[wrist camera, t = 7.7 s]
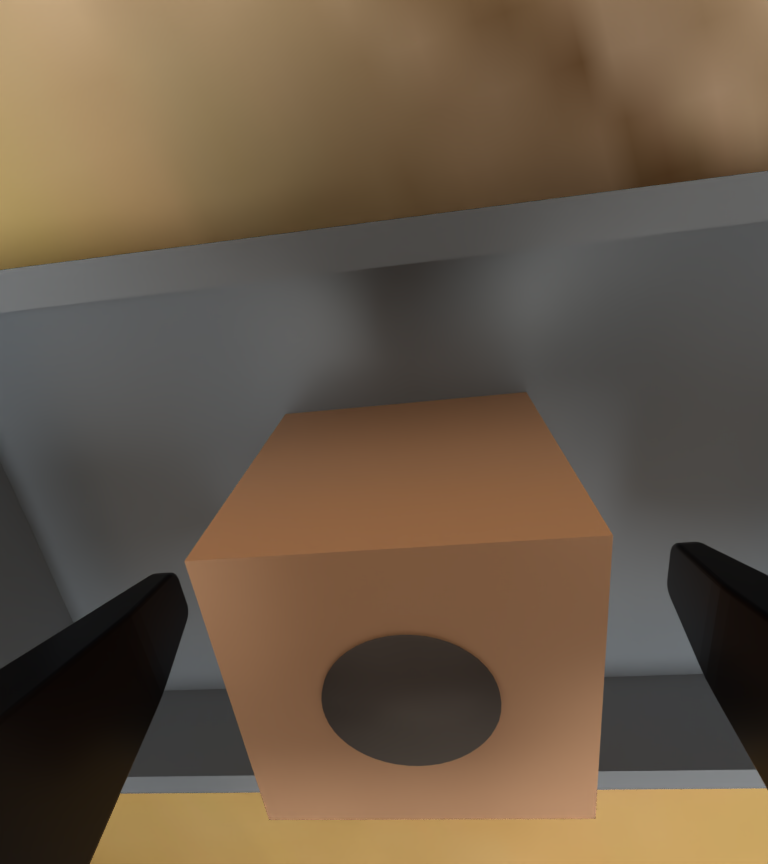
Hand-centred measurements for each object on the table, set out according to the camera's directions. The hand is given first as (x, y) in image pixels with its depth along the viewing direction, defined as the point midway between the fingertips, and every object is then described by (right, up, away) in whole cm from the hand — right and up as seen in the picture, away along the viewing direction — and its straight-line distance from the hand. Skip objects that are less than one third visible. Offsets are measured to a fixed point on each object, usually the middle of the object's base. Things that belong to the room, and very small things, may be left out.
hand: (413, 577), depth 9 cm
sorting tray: (0, +1, +3) cm, 3 cm away
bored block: (0, +1, +2) cm, 2 cm away
